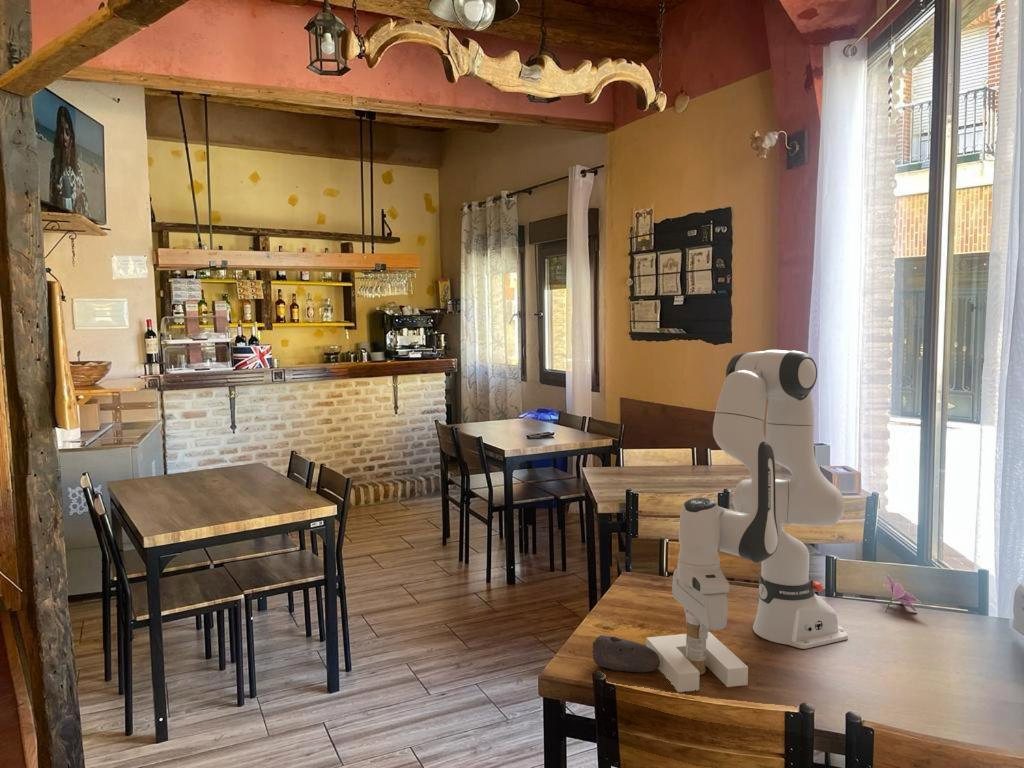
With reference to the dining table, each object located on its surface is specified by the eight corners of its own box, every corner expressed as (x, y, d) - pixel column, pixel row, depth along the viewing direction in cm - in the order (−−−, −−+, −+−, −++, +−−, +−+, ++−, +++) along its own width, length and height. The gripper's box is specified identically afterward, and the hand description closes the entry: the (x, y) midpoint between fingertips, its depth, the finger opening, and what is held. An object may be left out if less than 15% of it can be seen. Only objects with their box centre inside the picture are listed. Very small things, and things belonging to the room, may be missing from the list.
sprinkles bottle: (691, 664, 165) (692, 607, 164) (709, 670, 162) (711, 612, 161) (681, 671, 162) (682, 613, 160) (699, 678, 159) (701, 619, 157)
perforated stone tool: (661, 669, 163) (662, 639, 162) (658, 680, 158) (659, 650, 157) (595, 659, 167) (596, 630, 167) (590, 670, 162) (591, 640, 162)
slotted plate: (708, 647, 173) (709, 631, 173) (747, 684, 156) (748, 667, 155) (646, 653, 170) (646, 637, 170) (678, 692, 153) (678, 674, 152)
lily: (920, 627, 187) (934, 593, 188) (874, 604, 191) (889, 571, 192) (904, 622, 199) (918, 591, 200) (862, 601, 202) (876, 570, 203)
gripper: (666, 558, 169) (664, 615, 171) (705, 589, 149) (704, 654, 151) (691, 556, 171) (689, 613, 172) (733, 587, 151) (731, 651, 152)
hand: (696, 632), depth 161 cm, fingers closed on sprinkles bottle, 4 cm apart
